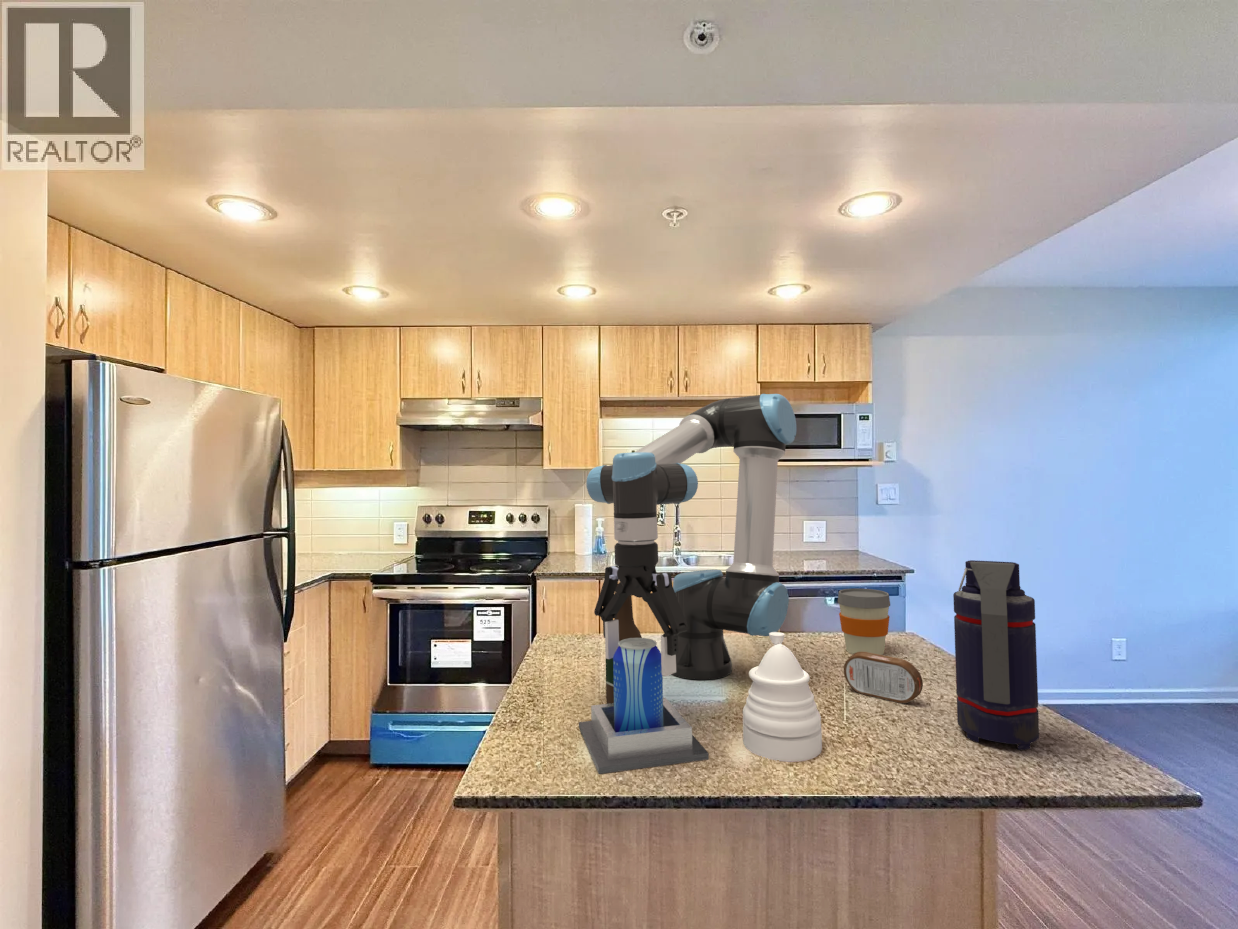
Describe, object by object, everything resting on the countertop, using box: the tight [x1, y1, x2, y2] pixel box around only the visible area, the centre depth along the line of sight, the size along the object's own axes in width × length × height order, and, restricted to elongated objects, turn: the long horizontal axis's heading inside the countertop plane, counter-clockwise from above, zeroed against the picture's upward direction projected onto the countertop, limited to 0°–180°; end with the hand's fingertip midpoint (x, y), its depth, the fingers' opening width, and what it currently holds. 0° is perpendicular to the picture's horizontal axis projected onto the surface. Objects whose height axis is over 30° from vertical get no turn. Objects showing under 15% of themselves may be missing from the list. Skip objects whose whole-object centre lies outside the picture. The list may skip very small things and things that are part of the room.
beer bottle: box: [604, 582, 643, 704], centre depth 121 cm, size 8×8×24 cm
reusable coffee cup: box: [837, 588, 891, 655], centre depth 155 cm, size 13×13×15 cm
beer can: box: [613, 637, 664, 732], centre depth 103 cm, size 8×8×16 cm
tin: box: [843, 652, 924, 704], centre depth 123 cm, size 15×3×8 cm, turn 47°
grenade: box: [952, 559, 1040, 751], centre depth 103 cm, size 14×12×30 cm
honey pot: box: [742, 631, 823, 763], centre depth 102 cm, size 13×13×18 cm
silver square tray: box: [578, 697, 710, 775], centre depth 103 cm, size 18×18×4 cm
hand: (639, 665), depth 104 cm, fingers open, 13 cm apart
